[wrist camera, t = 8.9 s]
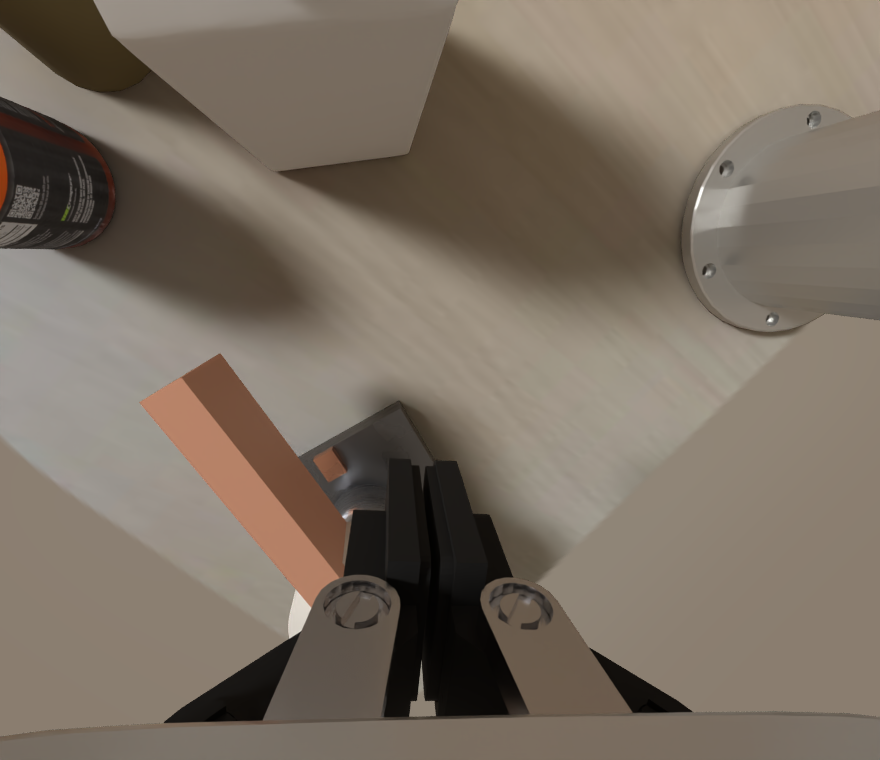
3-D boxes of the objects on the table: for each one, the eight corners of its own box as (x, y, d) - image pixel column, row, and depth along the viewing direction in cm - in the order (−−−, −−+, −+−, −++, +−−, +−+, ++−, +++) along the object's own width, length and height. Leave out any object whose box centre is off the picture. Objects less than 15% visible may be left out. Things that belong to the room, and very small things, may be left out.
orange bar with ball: (456, 590, 23) (471, 655, 20) (347, 653, 24) (341, 730, 20) (270, 323, 19) (244, 340, 15) (136, 402, 19) (76, 439, 15)
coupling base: (398, 400, 28) (406, 442, 21) (474, 525, 31) (499, 593, 24) (253, 482, 28) (218, 547, 22) (341, 599, 31) (333, 686, 24)
